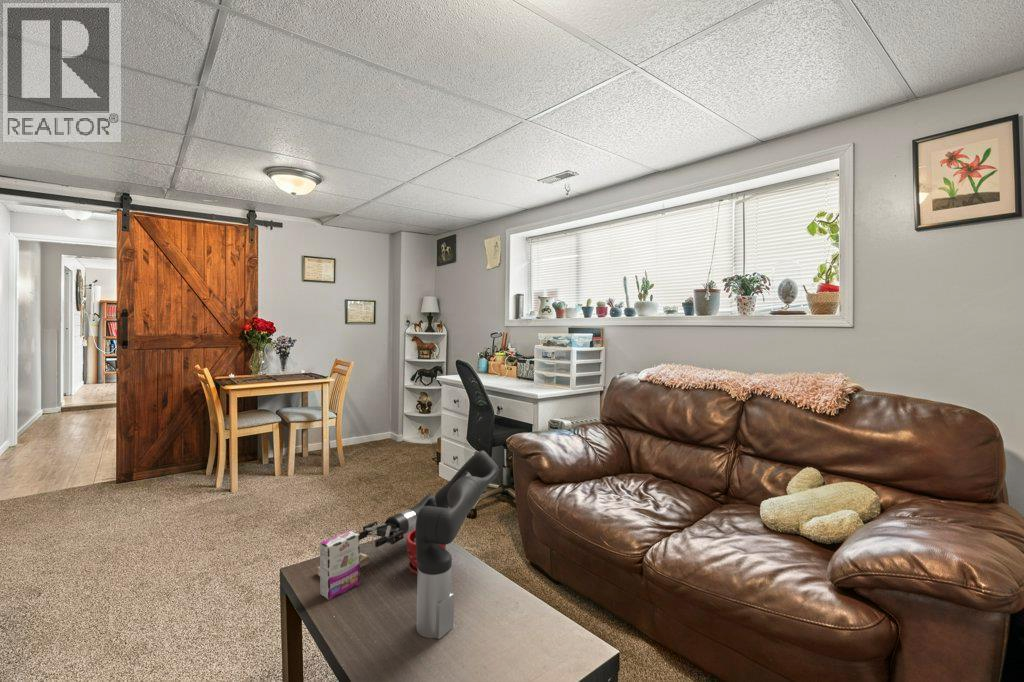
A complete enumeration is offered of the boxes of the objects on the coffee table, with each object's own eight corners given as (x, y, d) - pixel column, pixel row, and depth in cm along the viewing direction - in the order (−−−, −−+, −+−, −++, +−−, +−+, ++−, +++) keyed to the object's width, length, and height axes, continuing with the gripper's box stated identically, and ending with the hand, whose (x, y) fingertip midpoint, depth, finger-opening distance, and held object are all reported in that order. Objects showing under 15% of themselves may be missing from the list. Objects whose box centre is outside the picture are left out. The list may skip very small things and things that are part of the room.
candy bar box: (350, 579, 153) (351, 529, 152) (360, 584, 150) (360, 533, 149) (318, 595, 144) (319, 542, 143) (328, 601, 141) (328, 547, 140)
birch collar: (369, 563, 163) (369, 556, 163) (334, 582, 151) (334, 574, 151) (352, 556, 168) (352, 549, 167) (316, 574, 155) (316, 567, 155)
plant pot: (402, 563, 163) (402, 529, 163) (439, 556, 169) (440, 523, 168) (410, 583, 151) (411, 546, 151) (450, 575, 157) (451, 539, 156)
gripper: (416, 538, 166) (381, 558, 152) (387, 528, 173) (351, 546, 159) (416, 517, 166) (382, 535, 152) (387, 508, 173) (351, 524, 159)
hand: (366, 540), depth 155 cm, fingers open, 8 cm apart
